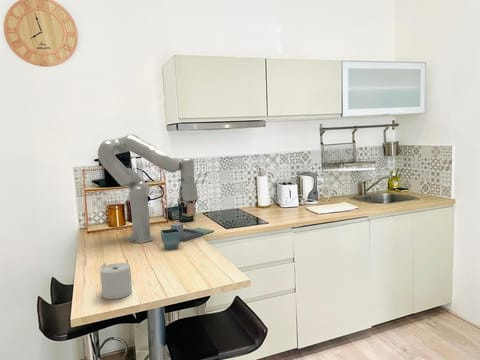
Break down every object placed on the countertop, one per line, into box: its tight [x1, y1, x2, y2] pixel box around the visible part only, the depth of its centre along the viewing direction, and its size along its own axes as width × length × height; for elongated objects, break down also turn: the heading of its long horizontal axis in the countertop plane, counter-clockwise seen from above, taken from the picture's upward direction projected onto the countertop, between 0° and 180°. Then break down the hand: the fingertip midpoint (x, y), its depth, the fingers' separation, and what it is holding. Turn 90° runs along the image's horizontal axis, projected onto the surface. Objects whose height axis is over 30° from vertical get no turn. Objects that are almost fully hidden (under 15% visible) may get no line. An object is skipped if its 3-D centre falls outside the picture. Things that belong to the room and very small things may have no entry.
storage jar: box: [177, 201, 194, 224], centre depth 259 cm, size 10×10×15 cm
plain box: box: [170, 222, 184, 236], centre depth 220 cm, size 5×5×6 cm
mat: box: [191, 227, 215, 236], centre depth 230 cm, size 8×14×1 cm, turn 48°
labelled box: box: [182, 202, 196, 216], centre depth 217 cm, size 5×5×7 cm
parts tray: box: [180, 227, 204, 243], centre depth 220 cm, size 14×16×2 cm
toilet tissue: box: [99, 262, 133, 300], centre depth 143 cm, size 11×12×10 cm
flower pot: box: [160, 228, 181, 250], centre depth 199 cm, size 9×9×9 cm
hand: (188, 212), depth 217 cm, fingers closed on labelled box, 5 cm apart
